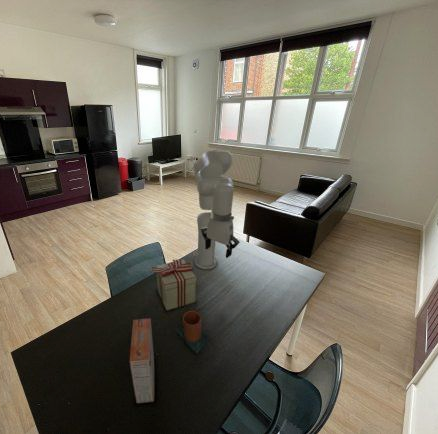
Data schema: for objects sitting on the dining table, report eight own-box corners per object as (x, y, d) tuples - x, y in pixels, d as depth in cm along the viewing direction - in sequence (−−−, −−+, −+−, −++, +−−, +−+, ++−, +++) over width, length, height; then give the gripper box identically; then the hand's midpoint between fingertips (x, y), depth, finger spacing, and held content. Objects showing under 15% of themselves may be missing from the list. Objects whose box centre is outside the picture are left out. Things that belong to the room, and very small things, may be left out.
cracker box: (137, 360, 86) (132, 318, 77) (154, 359, 86) (151, 317, 77) (134, 404, 73) (128, 360, 64) (154, 402, 73) (150, 358, 64)
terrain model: (211, 342, 92) (211, 338, 91) (196, 354, 88) (196, 351, 87) (188, 321, 101) (188, 318, 100) (174, 331, 97) (174, 328, 96)
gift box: (180, 278, 126) (180, 250, 119) (198, 301, 111) (199, 272, 104) (150, 288, 120) (148, 259, 112) (164, 314, 104) (163, 283, 97)
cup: (180, 335, 93) (179, 319, 89) (190, 323, 98) (189, 307, 93) (194, 345, 89) (194, 328, 85) (204, 332, 94) (204, 316, 90)
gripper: (246, 218, 90) (240, 255, 97) (207, 206, 99) (205, 241, 107) (237, 225, 84) (232, 264, 92) (197, 212, 94) (195, 248, 102)
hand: (217, 252), depth 100 cm, fingers open, 9 cm apart
